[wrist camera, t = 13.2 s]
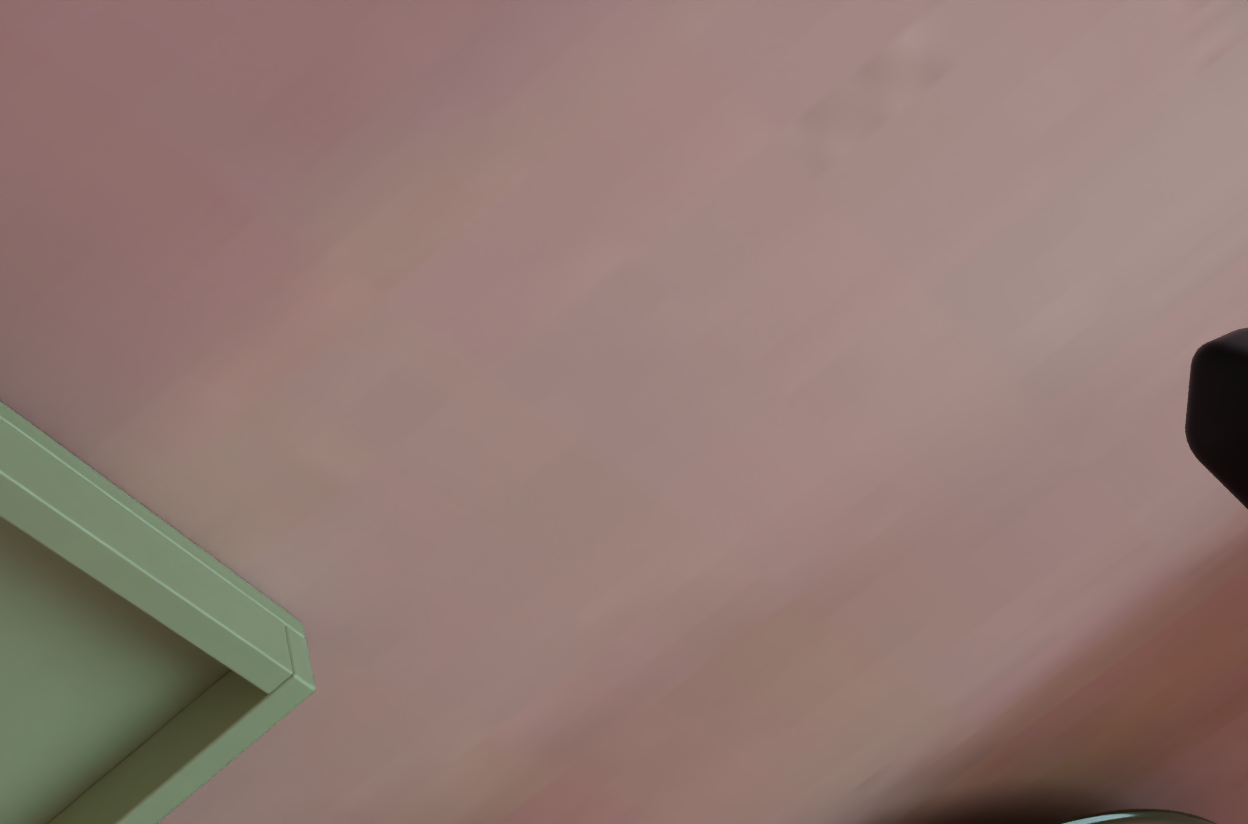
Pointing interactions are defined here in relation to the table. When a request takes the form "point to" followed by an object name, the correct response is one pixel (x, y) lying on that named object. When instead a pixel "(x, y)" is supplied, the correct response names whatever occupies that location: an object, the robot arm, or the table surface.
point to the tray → (121, 648)
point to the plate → (1137, 817)
